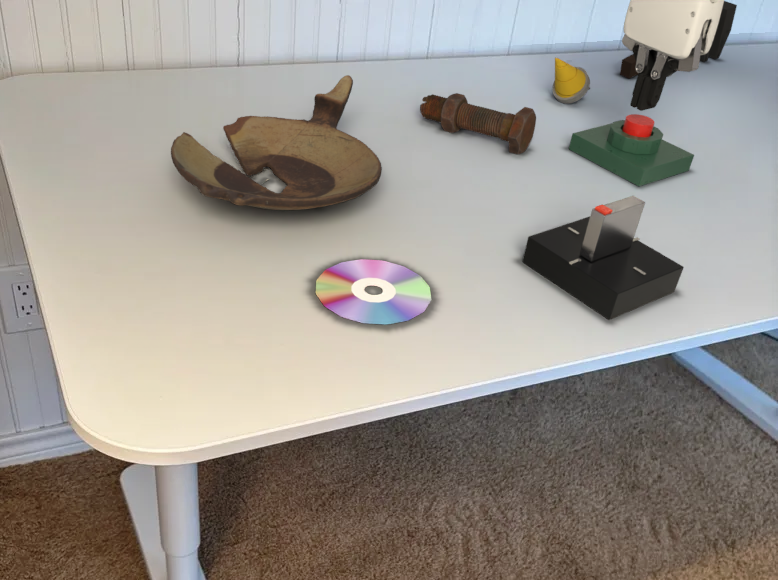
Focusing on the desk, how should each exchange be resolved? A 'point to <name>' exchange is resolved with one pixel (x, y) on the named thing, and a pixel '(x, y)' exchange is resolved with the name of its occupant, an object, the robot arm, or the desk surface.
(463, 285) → the desk surface
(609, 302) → the black lever switch box
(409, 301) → the cd
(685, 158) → the release box
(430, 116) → the bolt
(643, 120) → the release button
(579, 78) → the yellow spiral cone
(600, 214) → the gray slab
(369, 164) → the broken bowl
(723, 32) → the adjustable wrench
